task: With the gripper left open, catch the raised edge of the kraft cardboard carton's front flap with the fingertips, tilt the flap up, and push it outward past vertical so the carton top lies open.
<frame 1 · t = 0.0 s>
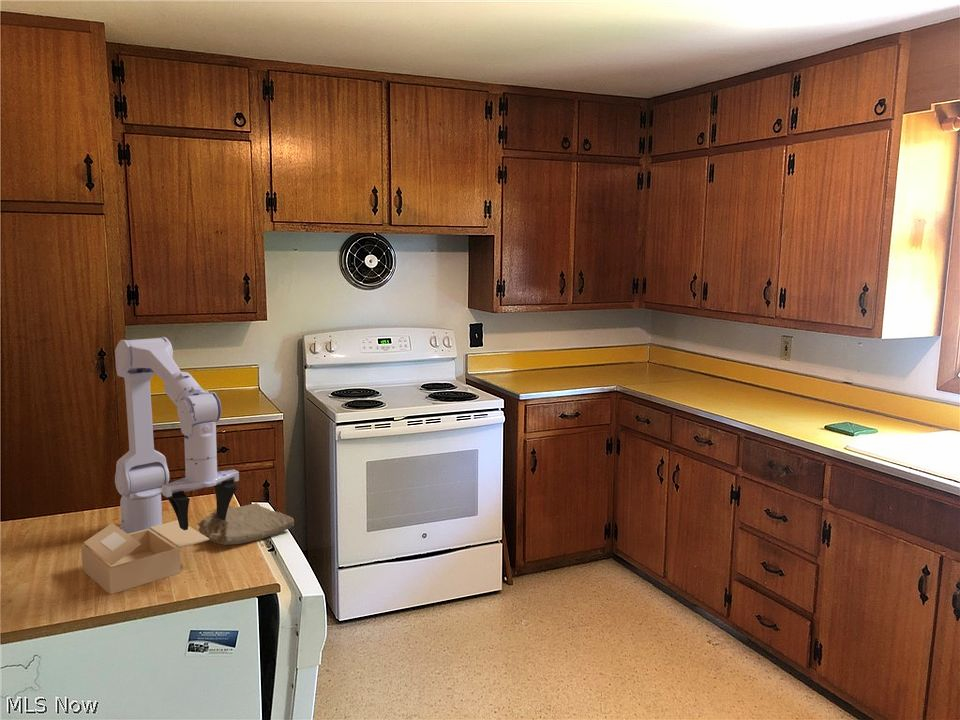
hand: (203, 523, 142), 10 cm above the table, fingers open, 7 cm apart
artifact: (241, 535, 164), on the table
carton: (131, 571, 143), on the table
front flap: (111, 543, 140), point 7 cm above the table, hinge at 25.0°
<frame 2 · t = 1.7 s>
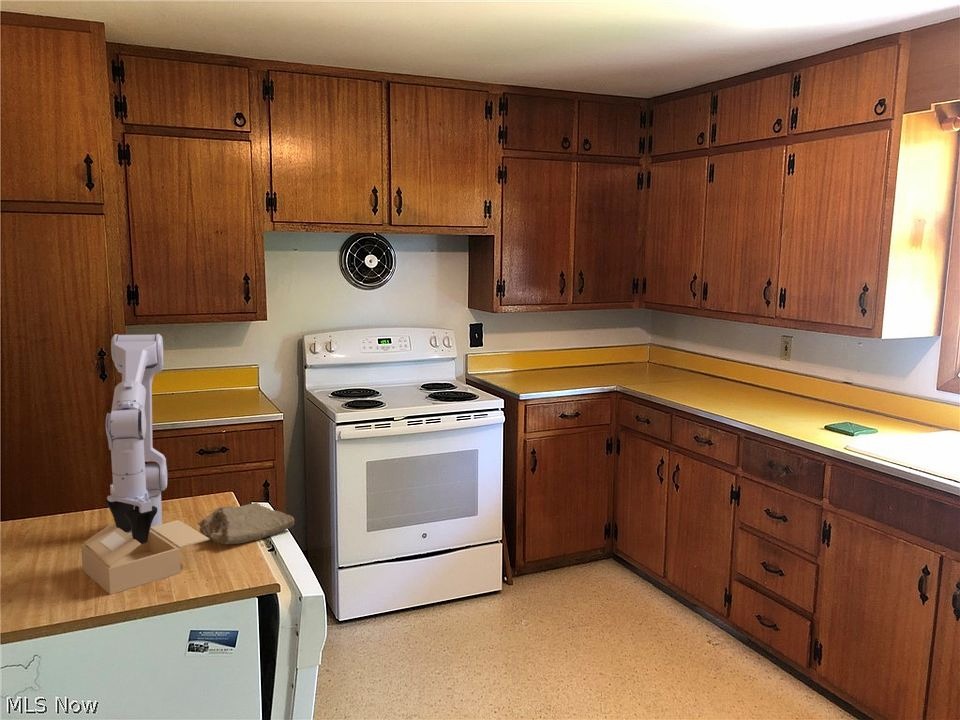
hand: (132, 537, 143), 7 cm above the table
front flap: (111, 543, 140), point 7 cm above the table, hinge at 25.2°, touching gripper
everything else where it was.
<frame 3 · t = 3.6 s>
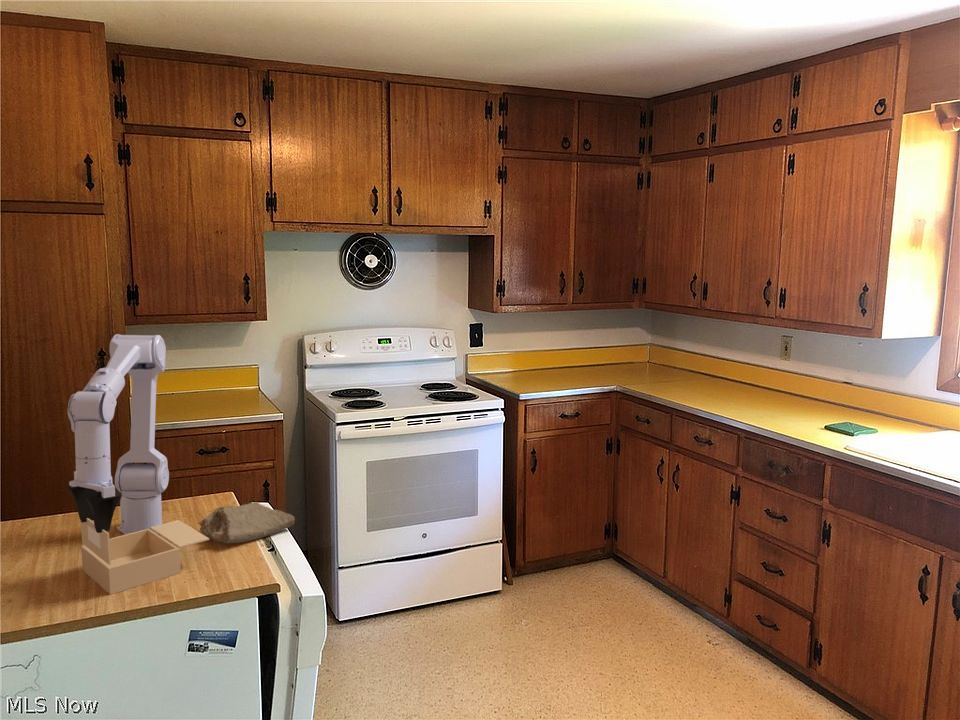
hand: (95, 526, 137), 11 cm above the table
front flap: (94, 538, 138), point 9 cm above the table, hinge at 90.7°, touching gripper
everything else where it was.
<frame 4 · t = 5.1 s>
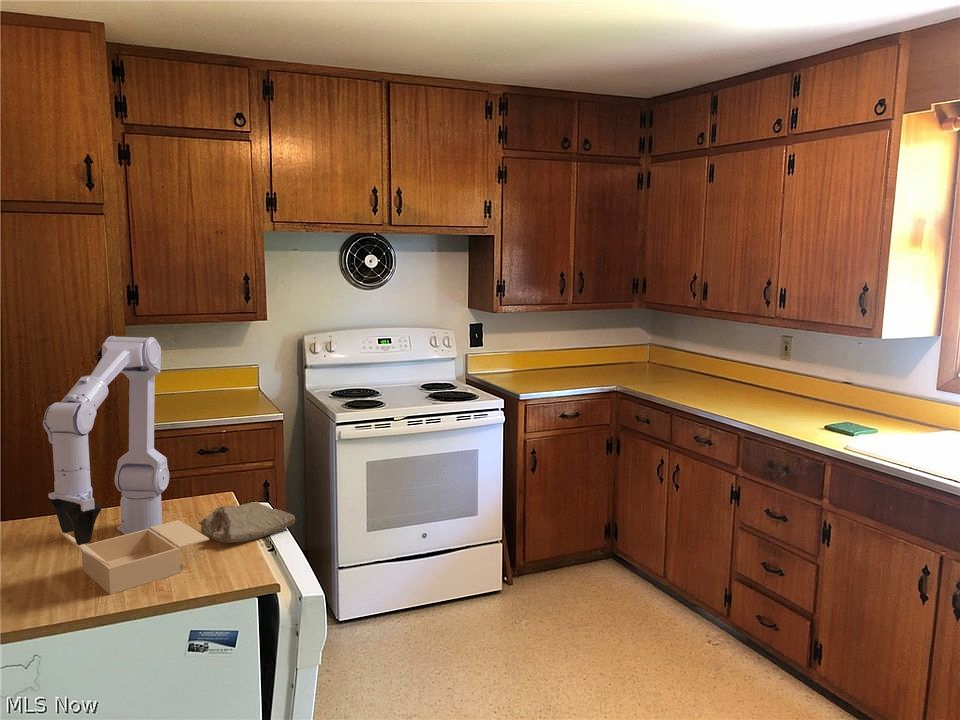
hand: (76, 537, 136), 9 cm above the table
front flap: (82, 546, 136), point 8 cm above the table, hinge at 136.1°, touching gripper
everything else where it was.
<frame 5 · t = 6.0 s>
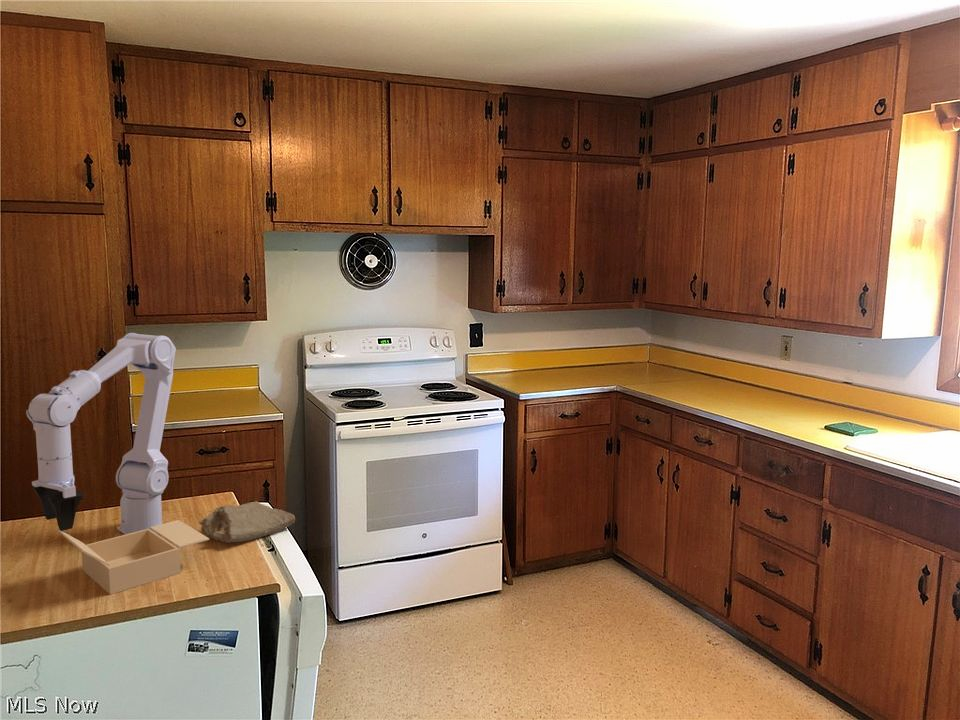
hand: (59, 523, 142), 9 cm above the table, fingers open, 7 cm apart
front flap: (82, 546, 136), point 8 cm above the table, hinge at 136.6°, touching gripper
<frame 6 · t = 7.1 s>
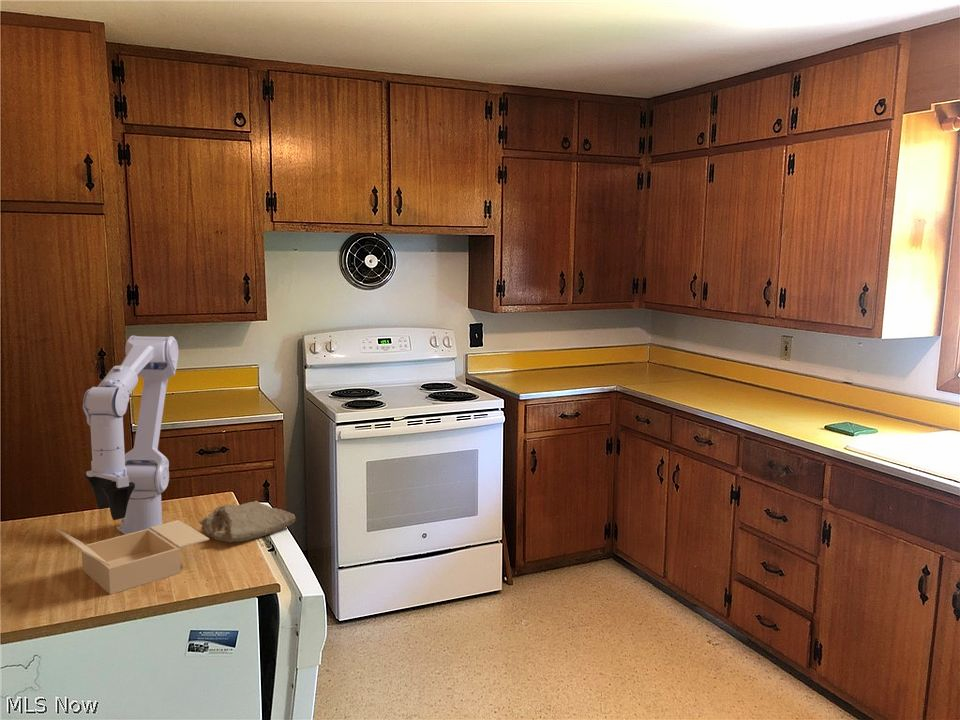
hand: (111, 513, 146), 10 cm above the table, fingers open, 7 cm apart
front flap: (82, 546, 136), point 8 cm above the table, hinge at 136.6°
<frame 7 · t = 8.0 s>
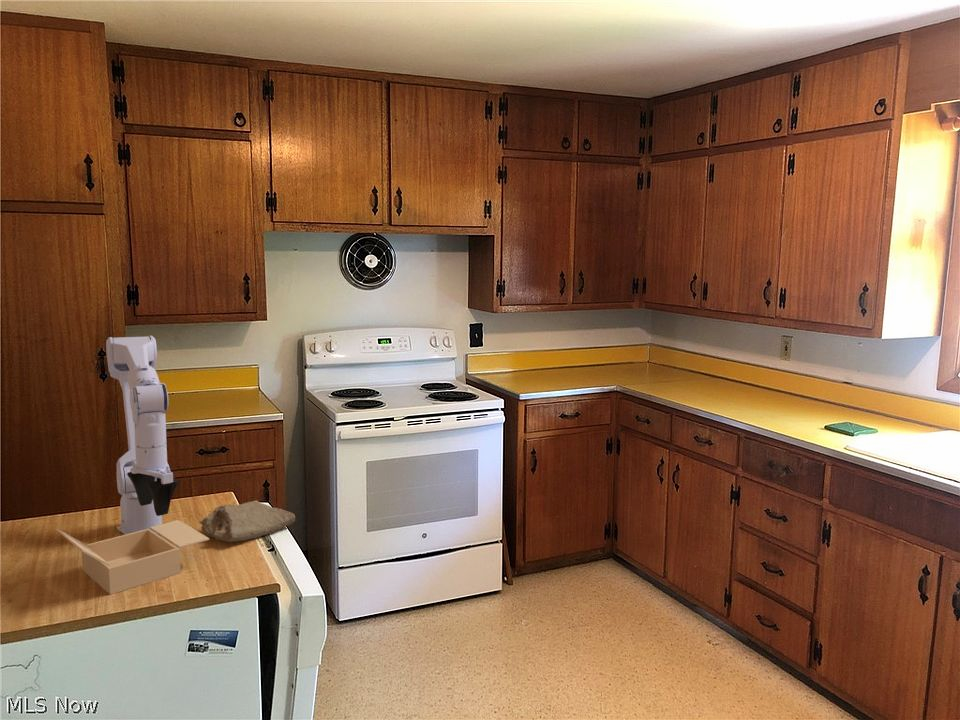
hand: (153, 509, 148), 10 cm above the table, fingers open, 7 cm apart
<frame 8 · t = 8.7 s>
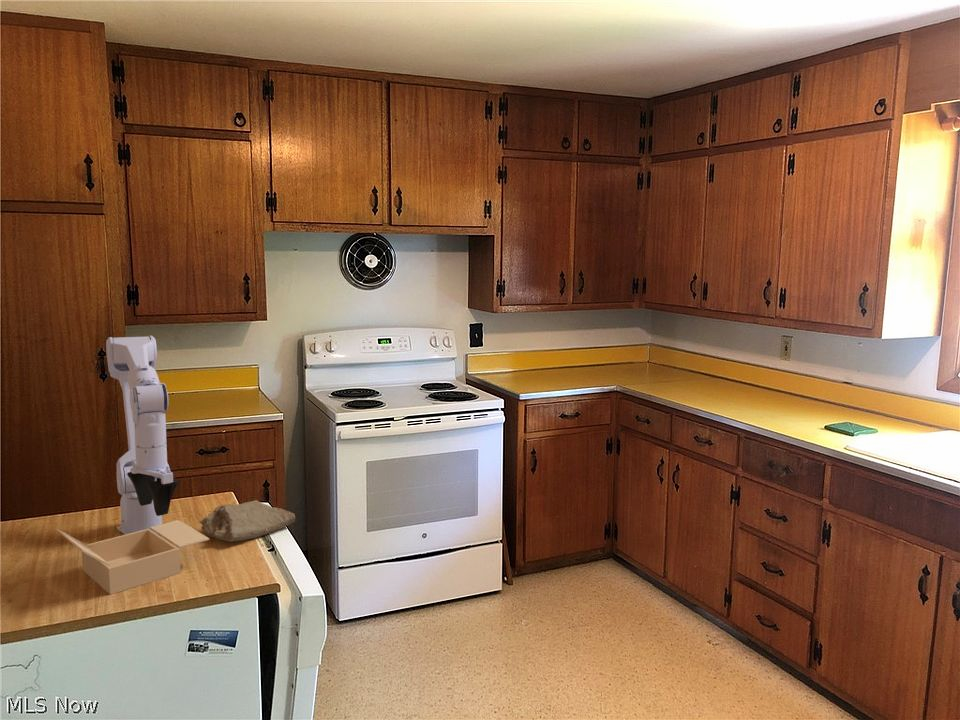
hand: (153, 509, 148), 10 cm above the table, fingers open, 7 cm apart
at the end: front flap at +137° (first picture: +25°) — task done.
